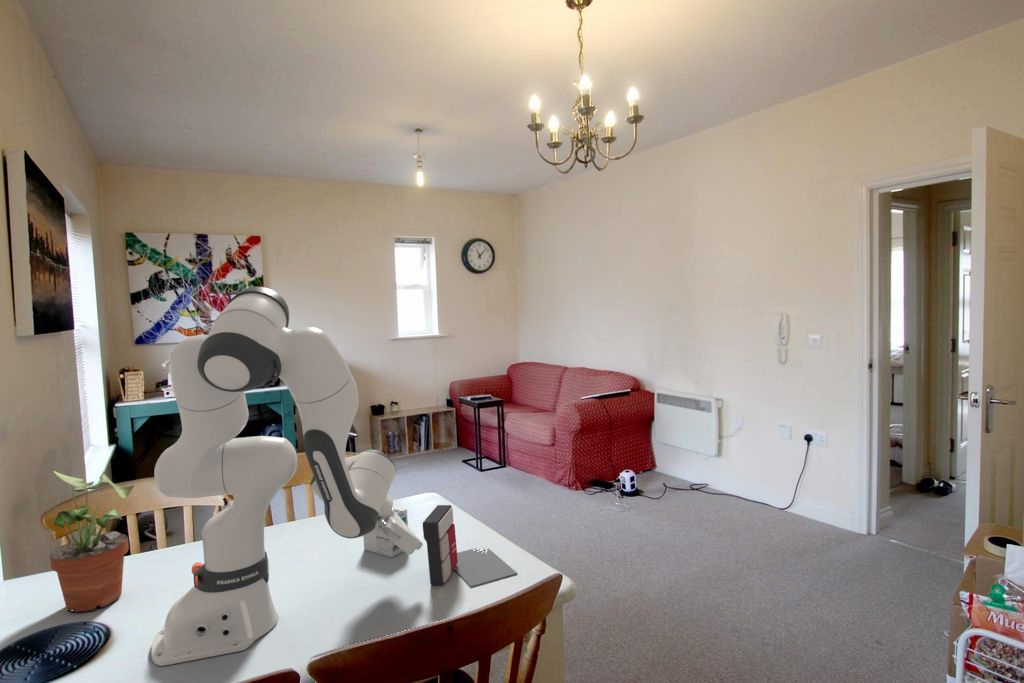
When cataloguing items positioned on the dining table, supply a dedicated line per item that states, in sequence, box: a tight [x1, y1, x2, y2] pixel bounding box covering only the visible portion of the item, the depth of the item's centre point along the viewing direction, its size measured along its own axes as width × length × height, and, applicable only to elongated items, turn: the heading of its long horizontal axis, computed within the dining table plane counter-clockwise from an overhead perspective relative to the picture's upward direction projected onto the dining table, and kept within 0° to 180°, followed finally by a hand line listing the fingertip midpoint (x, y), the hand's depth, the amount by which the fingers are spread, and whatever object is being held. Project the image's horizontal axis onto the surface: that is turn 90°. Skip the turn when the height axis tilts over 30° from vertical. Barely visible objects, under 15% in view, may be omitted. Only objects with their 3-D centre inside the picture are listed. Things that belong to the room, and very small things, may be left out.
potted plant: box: [49, 468, 134, 612], centre depth 128 cm, size 16×15×35 cm
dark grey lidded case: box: [422, 504, 458, 586], centre depth 135 cm, size 11×4×15 cm, turn 168°
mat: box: [453, 547, 518, 588], centre depth 140 cm, size 12×18×1 cm, turn 28°
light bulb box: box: [362, 506, 409, 558], centre depth 151 cm, size 11×7×11 cm, turn 58°
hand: (419, 545), depth 131 cm, fingers closed
